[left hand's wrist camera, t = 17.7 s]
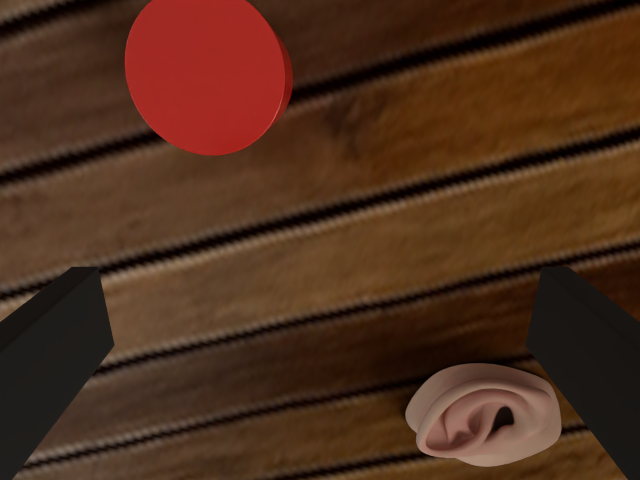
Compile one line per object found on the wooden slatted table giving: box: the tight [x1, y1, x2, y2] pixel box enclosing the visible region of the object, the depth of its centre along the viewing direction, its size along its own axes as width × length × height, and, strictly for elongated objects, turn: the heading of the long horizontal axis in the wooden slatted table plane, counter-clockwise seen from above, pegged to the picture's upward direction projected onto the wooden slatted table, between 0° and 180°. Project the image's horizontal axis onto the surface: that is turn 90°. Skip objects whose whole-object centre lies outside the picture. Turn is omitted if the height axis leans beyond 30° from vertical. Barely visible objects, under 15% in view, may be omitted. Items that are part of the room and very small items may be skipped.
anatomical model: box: [405, 363, 561, 466], centre depth 35 cm, size 13×4×12 cm
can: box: [125, 0, 293, 155], centre depth 24 cm, size 8×8×7 cm
